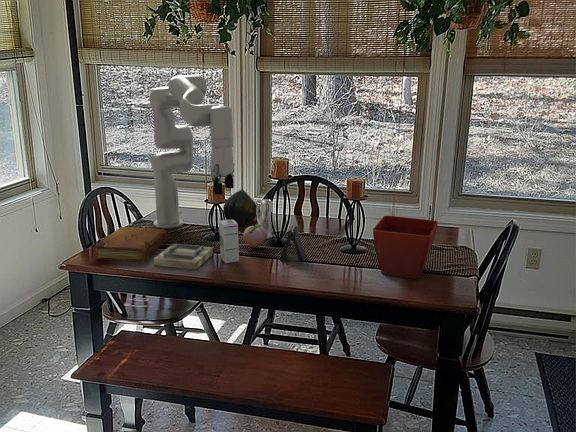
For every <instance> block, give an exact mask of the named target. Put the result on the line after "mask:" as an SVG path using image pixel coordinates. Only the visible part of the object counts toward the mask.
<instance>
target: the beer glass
mask: <svg viewBox="0 0 576 432" xmlns="http://www.w3.org/2000/svg"><path fill="white" fill-rule="evenodd" d="M255 204H256V217H255V219H256V223H257V224H260V225H262V226H261V227H262V228H263V229H264V230H265V232H266V237H265V240H270V239H272V238H273V235H272V233H273V232H272V224H273V223H272V222H273V221H272V222H271V212H272V220H273V217H274V206H273V205H274V203H273V200H271V199H266V198H265V199H263V198H262V199H257V200H256V201H255Z"/></svg>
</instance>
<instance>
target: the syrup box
mask: <svg viewBox="0 0 576 432" xmlns="http://www.w3.org/2000/svg"><path fill="white" fill-rule="evenodd" d="M218 222H219V223H218V225H219V227H218V228H219V229H218V231H219V232H218V233H219V246H220V247H219V250H220V251H219V253H220V254H219V255H220V259H221V260H222V261H223V262H224V264H226V263H227V264H229V263H236V262H240V251H239V250H240V249H239V247H240V244H239V225H238V224H237V223H236V222H235V221H234V220H232V219H231V220H226V219H223V220H219V221H218Z"/></svg>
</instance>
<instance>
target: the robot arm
mask: <svg viewBox="0 0 576 432" xmlns="http://www.w3.org/2000/svg"><path fill="white" fill-rule="evenodd" d="M207 91H208V86H207V82H206V79H204V77H203V76H201V75H198V74H195V75H194V74H193V75H191V74H189V75H188V74H187V75H176V76H173V77H171V79H169V82H168V84H167V86H159V87H155V88H153V89H152V90H151V91H150V92H149V93H150V94H149V105H150V107H151V108H150V109H151V111H152V114H153V134H154V135H153V136H154V137H153V138H154V145H155V147H156V148H157V149H159V150H163V151H161V152H157V153H155V154H154V155H153V156H152V157H151V158H150V165H151V169H152V173H153V178H154V179H153V180H154V192H155V206H156V207H155V210H156V220H154V221H153V226H154V227H155V228H157V229H172V228H173V229H175V228H179V227H181V226H183V224H184V220H183V219H181V218H180V215H182V210H180V209H179V207H180V203H179V186H178V183H177V180H175V178H174V177H173V176H172V175H175V174H181V173H182V174H183V173H188V172H190V171H191V170H192V168H193V164H194V137H193V133H192V130H191V128H190V127H189V126H191V127H193V128H199V127H210V145H211V146H210V147H211V151H210V176H211V180H212V188H213V189H212V190H213V195H220V196H221V195H224V194H223V191H224V190H223V183H222V180H223V178H224V188H225V189H235V186H234V184H235V181H234V176H235V174H234V172H235V163H234V153H233V148H234V130H233V129H234V128H233V127H234V126H233V109H232V107H230V106H228V105H223V104H220V103H205V104H203V102H204V99H205V98H204V97H205V95H206V94H207ZM172 109H179V113H180V116H181V118H182V120H183V121H184V122H186V124H188V125H189V126H187V125H185V124H180V125H179V124H178V125H177V124H176V115H175V113H174V111H173V110H172ZM174 149H176V150H174ZM177 149H178V150H177ZM164 150H170V151H164Z"/></svg>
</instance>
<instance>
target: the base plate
mask: <svg viewBox="0 0 576 432" xmlns="http://www.w3.org/2000/svg"><path fill="white" fill-rule="evenodd" d="M212 255H214V247H212V246H211V247H210V246H204V245H197V244H196V245H194V244H186V243H185V244H184V243H172V244H171V245H170V246H168V247H167V248H166V249H164V250H163V251H161V253H158V255H156V256H155V257H153V265H154V266H161V267H169V268H179V269H186V270H187V269H188V270H197V269H198V268H199V267H201V266H202V265H203V264H204V263H205V262H206V261H207V260H208V259H209V258H210V257H212Z"/></svg>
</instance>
